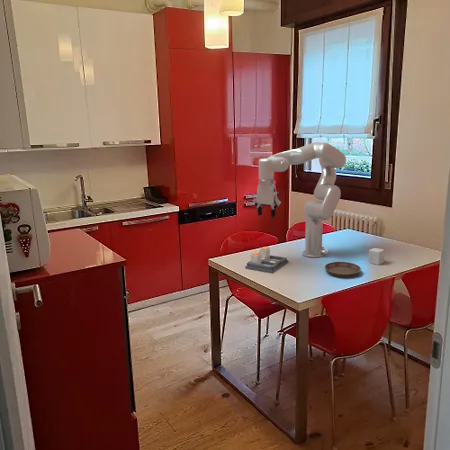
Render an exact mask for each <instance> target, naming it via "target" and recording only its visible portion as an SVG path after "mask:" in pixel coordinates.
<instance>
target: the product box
mask: <svg viewBox="0 0 450 450" xmlns="http://www.w3.org/2000/svg"><path fill="white" fill-rule="evenodd" d="M385 251H386V250H385V249H382V248H378V247H377V248H376V247H373V248H371V249H369V250H368V263H369V264H372V265H376V266H380V265H382V264H384V263H385Z"/></svg>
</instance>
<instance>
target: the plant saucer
mask: <svg viewBox="0 0 450 450" xmlns="http://www.w3.org/2000/svg"><path fill="white" fill-rule="evenodd" d="M324 268H325V271H326V272H327V273H328V274H329V275H330V276H333V277H337V278H352V277H355V276H357V275H358V274H359V273H360V272H361V269H362V268H361V267H360V266H359V265H358V264H356V263H352V262H350V261H349V262H348V261H333V262H328V263H327V264H325V265H324Z"/></svg>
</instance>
